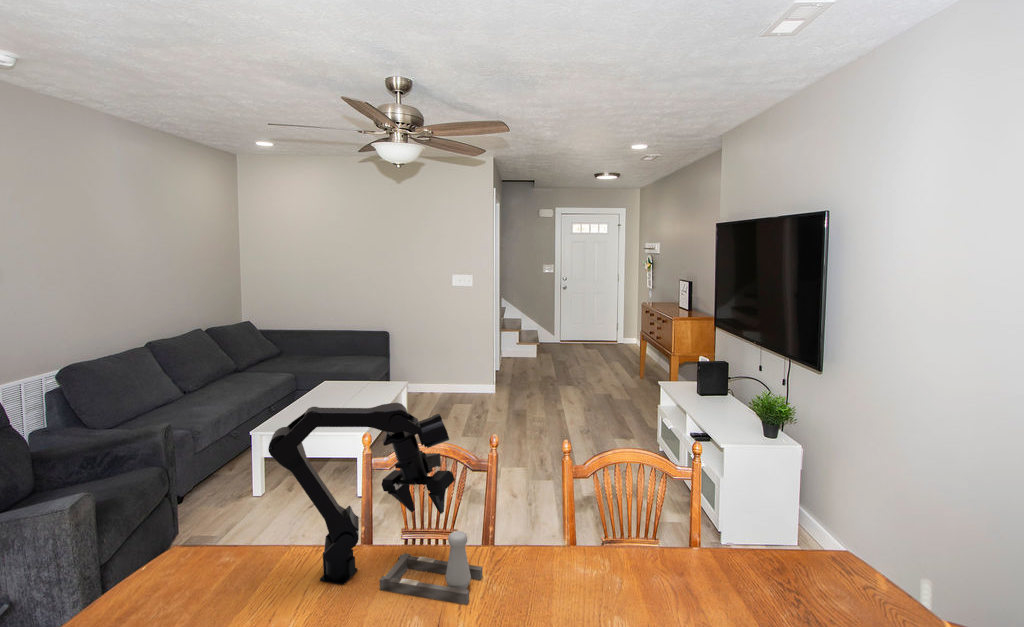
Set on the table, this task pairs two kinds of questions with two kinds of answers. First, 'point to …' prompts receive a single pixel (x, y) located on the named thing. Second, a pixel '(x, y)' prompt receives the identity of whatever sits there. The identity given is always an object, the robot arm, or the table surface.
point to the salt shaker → (458, 561)
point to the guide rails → (424, 589)
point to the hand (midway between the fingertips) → (427, 512)
